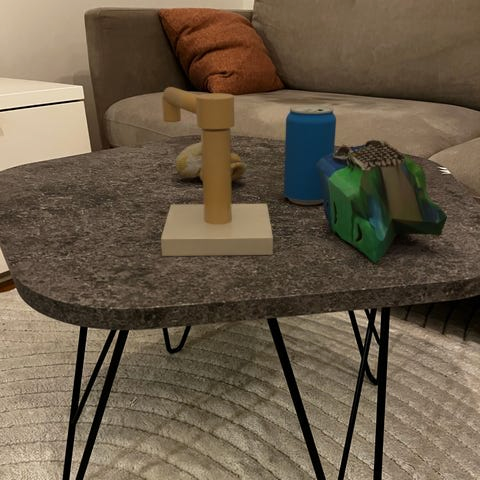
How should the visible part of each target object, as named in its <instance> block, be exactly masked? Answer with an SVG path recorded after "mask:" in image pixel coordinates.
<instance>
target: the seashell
mask: <svg viewBox="0 0 480 480" xmlns="http://www.w3.org/2000/svg"><path fill="white" fill-rule="evenodd" d="M174 165H175V170H176V172H178V173H179V175H180V176H183V177H184V178H187V179H195V178H197V177H199V179H200V181H201V182H203V173H202V146H201V141H200V142H198V143H193V144H191V145H188V146H186V147H185V148H184V149H183V150H182V151H180V153H179V154H178V155H177V156H176V159H175V162H174ZM246 171H247V166H246V164H245V163H243V162H242V159H241V157H240V156H239V155H238V154H237V153H233V152H231V183H233V182H234V181H235V180H237V179H239V178H240V177H241V176H243V175H244V173H245V172H246Z"/></svg>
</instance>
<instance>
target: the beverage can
mask: <svg viewBox="0 0 480 480" xmlns="http://www.w3.org/2000/svg"><path fill="white" fill-rule="evenodd" d="M334 109H335V108H334V107H332V106H329V105H323V104H322V105H321V104H301V105H299V104H298V105H293V106H291V107H289V113H288V114H287V116H286V118H285V140H284V141H285V142H284V174H283V196H285V197H286V198H288V200H289V201H290V202H291V203H294V204H297V205H303V206H305V205H306V206H312V205H313V206H315V205H321V204H324V201H323V195H322V188H321V182H320V177H319V173H318V169H317V163H318V162H319V160H320V159H321V158H323V157H325V156H328V155H330V154H332V153H334V152H335V144H336V143H335V141H336V129H337V117H336V115H335V113H334Z"/></svg>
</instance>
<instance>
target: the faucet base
mask: <svg viewBox="0 0 480 480" xmlns="http://www.w3.org/2000/svg"><path fill="white" fill-rule="evenodd" d="M200 142H201V146H202V173H203V181H202V196H203V203H198V204H197V203H196V204H194V203H193V204H191V203H190V204H189V203H187V204H185V203H184V204H170V206H169V209H168V213H167V216H166V220H165V223H164V227H163V229H162V230H163V231H162V233H161V237H160V247H161V249H160V250H161V256H162V257H192V256H193V257H196V256H198V257H199V256H200V257H201V256H202V257H204V256H213V257H214V256H273V255H274V236H273V229H272V225H271V218H270V212H269V207H268V204H267V203H232V202H233V201H232V200H233V196H232V195H233V194H232V191H233V190H232V182H231V153H232V129H231V128H226V129H204V128H200Z"/></svg>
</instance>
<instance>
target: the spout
mask: <svg viewBox="0 0 480 480" xmlns="http://www.w3.org/2000/svg"><path fill="white" fill-rule="evenodd" d="M161 102H162V103H161V104H162V119H163V122H164V123H179V122H181V121H182V114H181V110H184V111H186V112H189V113H192V114H195V115H196V127H197V128H200V129H202V128H204V129H226V128H230V129H231V128H233V127H235V95H233V94H230V93H219V92H218V93H216V92H215V93H202V94H195V93H193V92H190V91H187V90H183V89H181V88H177V87H174V86H169V87H166V88H165V89H164V91H163V93H162V95H161Z"/></svg>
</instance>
